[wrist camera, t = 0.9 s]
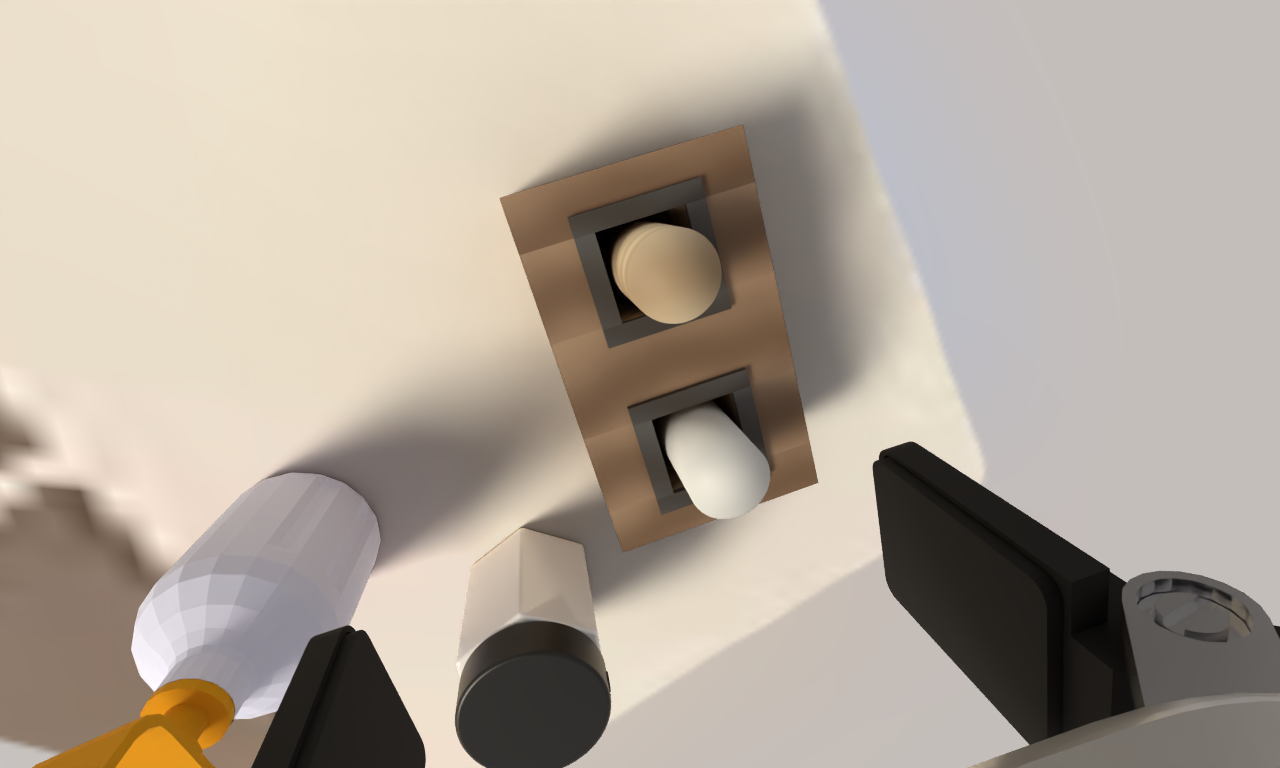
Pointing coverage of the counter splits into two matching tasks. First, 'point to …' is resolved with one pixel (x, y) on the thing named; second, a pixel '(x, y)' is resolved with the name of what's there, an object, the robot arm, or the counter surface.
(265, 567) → the soap bottle
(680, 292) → the oak peg
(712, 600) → the counter surface
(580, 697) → the jar
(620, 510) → the walnut block
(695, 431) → the white peg
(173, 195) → the counter surface
